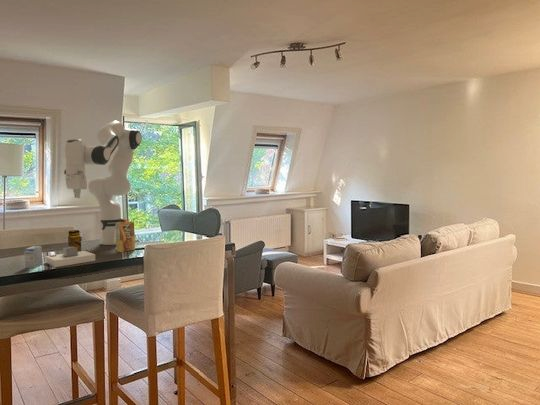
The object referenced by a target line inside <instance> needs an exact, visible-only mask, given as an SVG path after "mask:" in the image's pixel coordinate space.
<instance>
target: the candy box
mask: <svg viewBox="0 0 540 405" xmlns="http://www.w3.org/2000/svg"><path fill="white" fill-rule="evenodd" d="M115 225H116V252H117V253H124V252H129V251H135V250H136V242H135V237H136V234H135V235H134V233H135V222H134V221H132V220H131V221H129V220H127V222H120V223H115Z"/></svg>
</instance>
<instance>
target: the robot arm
mask: <svg viewBox="0 0 540 405" xmlns="http://www.w3.org/2000/svg"><path fill="white" fill-rule="evenodd" d="M96 135H97V140H98V143H100V144H99V145H86V144H84V143H83V139H80V138H74V139H68V140H66V142H65V145H64V146H65V147H64V154H65V157H64V158H65V160H66V163H65V170H63V174H64V175H65V185H66V188H67V189H69V190H72V191H73V195H74V198H75V199H80V198H81V193H82V190H87V189H88V190H89V191H88V192H89V193H90V194H91V195H93V196H94V197H95V199H96V201H97V203H98V204H99V209H100V229H101V230H100V231H101V232H100V241H99V245H104V246H108V245H109V246H110V245H111V246H115V245H116V225H115V223H120V222H128V219H126V218H124V219H123V218H122V212H121V211H122V210H121V209H122V208H121V204H119V203H118V202H117V201H115V199H114V198H113V196H114V197H118V196H119V197H120V196H123V195H127V194H129V192H130V191H131V186H132V185H131V183H130V180H129V179H128V178H127V173H128V171H129V168H130V166H131V164H132V161H133V158H134V150H136V149H137V148H138V147H139V146H140V145H141V143H142V141H143V140H142V139H143V138H142V132H140V130H137V129H134V128H132V129H131V128H127V127H126V128H125V126H124V124H123V123H122V122H121V121H118V120H112V121H110V122H108V123H106V124H104V125H103V126H102V127H101V128H100V129H99V130H98V132H97V134H96ZM117 147H118V149H117ZM116 149H117V150H116ZM115 150H116V151H115ZM114 152H115V153H114ZM113 153H114V154H113ZM112 154H113V156H112ZM111 156H112V158H111ZM110 159H111V160H110ZM109 161H110V162H109ZM108 162H109V164H108V166H107V170H108V172H109V174H110V176H103V177H102V176H99V177H95V178H92V179H90V181H89V182H87V176H86V165H102V166H103V165H106V164H107V163H108ZM134 235H135V243H136V242H140V238H139V237H136V234H135V232H134ZM116 246H117V245H116Z"/></svg>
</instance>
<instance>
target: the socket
mask: <svg viewBox="0 0 540 405" xmlns="http://www.w3.org/2000/svg"><path fill="white" fill-rule="evenodd" d="M95 261H96V254H95V253H92V252H89V251H87V250H81V251H79V252H78V256H72V257H63V253H59V254H52V255H46V256H45V263H46V264H47V265H50V266H52V267H54V268H59V267H64V266H70V265H71V266H72V265H77V264H82V263H84V264H85V263H90V262H95Z"/></svg>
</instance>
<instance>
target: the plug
mask: <svg viewBox="0 0 540 405" xmlns="http://www.w3.org/2000/svg"><path fill="white" fill-rule="evenodd" d="M62 254H63V257H72V256H78V251H77V248H76V247H69V246H67V247H66V246H65V247H63V248H62Z"/></svg>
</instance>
